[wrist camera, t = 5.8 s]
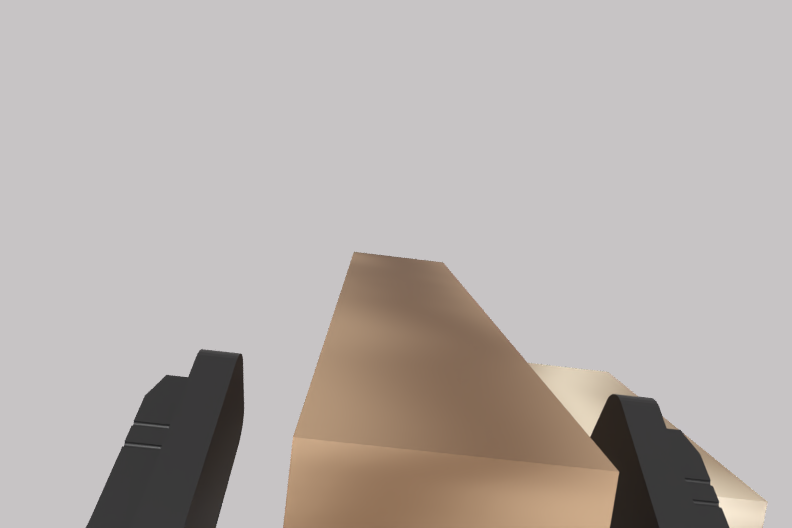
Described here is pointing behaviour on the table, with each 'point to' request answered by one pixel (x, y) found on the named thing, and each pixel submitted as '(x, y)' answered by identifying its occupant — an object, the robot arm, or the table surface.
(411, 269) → the light brown wooden block
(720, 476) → the birch stand
